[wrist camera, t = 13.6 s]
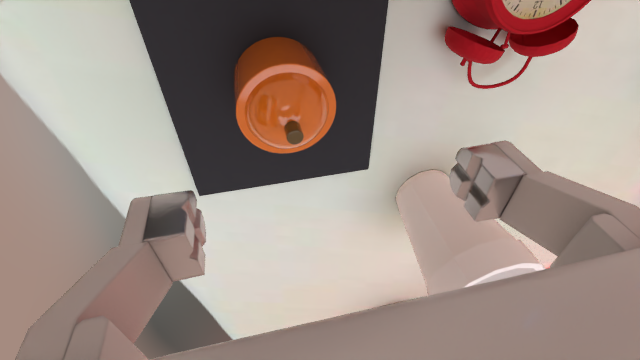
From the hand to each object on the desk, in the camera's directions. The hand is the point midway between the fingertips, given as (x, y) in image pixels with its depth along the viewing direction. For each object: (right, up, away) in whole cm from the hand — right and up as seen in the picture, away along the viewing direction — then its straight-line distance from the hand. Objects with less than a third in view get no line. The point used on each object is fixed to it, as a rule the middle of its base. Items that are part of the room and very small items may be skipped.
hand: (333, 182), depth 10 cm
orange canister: (-4, +7, +14) cm, 16 cm away
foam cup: (+11, -1, +27) cm, 29 cm away
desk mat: (-4, +8, +14) cm, 17 cm away
